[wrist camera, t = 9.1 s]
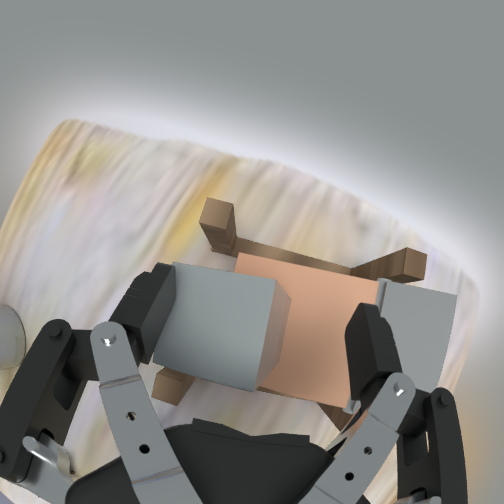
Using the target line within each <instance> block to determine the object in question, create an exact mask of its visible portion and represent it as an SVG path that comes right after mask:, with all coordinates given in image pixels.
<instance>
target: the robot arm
mask: <svg viewBox="0 0 504 504" xmlns="http://www.w3.org/2000/svg"><path fill="white" fill-rule="evenodd" d="M175 298H176V268H175V266H173V265H168V264H164V263H159V262H158V263H157V264H156V265H155V267H154V269H153V270H152V272H151V273H149V272H145V271H144V272H143V273H141V274H140V275H139V276H137V277H136V278H135V279H134V281H133V282H132V284H131V285H130V288H128V290H127V292H126V293H125V295H124V296H123V298H122V299H121V301H120V303H119V304H118V306H117V308H116V309H115V311H114V313H113V314H112V316H111V318H110V319H109V321H108V322H103V323H101V324H99V325H97V326H96V327H95V328H94V329H93V330H73V329H71V326H70V325H69V323H68V322H66V321H65V320H62V319H54V320H51V321H49V322H48V323H46V324H45V325H44V326H43V328H42V329H41V331H40V332H39V334H38V336H37V337H36V339H35V341H34V342H33V344H32V346H31V348H30V349H29V351H28V353H27V355H26V356H25V358H24V360H23V357H24V354H25V335H24V330H23V327H22V323H21V321H20V319H19V317H18V316H17V314H16V313H15V311H14V310H13V309H11V308H10V307H8V306H2V305H0V370H1V369H7V368H12V367H16V366H18V365H19V364H20V363H21V362H22V360H23V362H22V364H21V366H20V367H19V369H18V371H17V373H16V375H15V377H14V379H13V381H12V383H11V385H10V387H9V389H8V391H7V393H6V395H5V397H4V400H3V402H2V404H1V406H0V477H2V478H4V479H6V480H7V481H9V482H11V483H13V484H15V485H18V486H20V487H23V488H25V489H27V490H29V491H31V492H32V493H34V494H36V495H37V496H39V497H41V498H42V499H44V500H46V501H48V502H50V503H51V504H371V503H370V502H369V501H368V500H367V499H366V497H365V496H364V495H363V493H364V492H365V490H366V489H367V487H368V486H369V485H370V483H371V482H372V480H373V479H374V477H375V476H376V474H377V473H378V471H379V470H380V468H381V466H382V465H383V463H384V462H385V460H386V458H387V457H388V455H389V453H390V452H391V450H392V448H393V447H394V445H395V443H396V444H397V471H398V495H397V501H396V502H395V503H394V504H468V501H467V499H468V497H467V480H466V468H465V458H464V451H463V443H462V436H461V430H460V425H459V419H458V414H457V409H456V404H455V401H454V397H453V395H452V394H451V393H450V392H449V391H448V390H447V389H445V388H441V387H439V388H436V389H435V390H434V391H432V392H431V393H428V392H426V391H423V390H420V389H417V388H415V385H414V383H413V381H412V379H411V378H410V377H408V376H407V375H405V374H403V371H402V367H401V363H400V359H399V355H398V351H397V347H396V346H395V344H396V343H395V340H394V338H393V332H392V329H391V326H390V325H389V323H388V322H387V320H386V319H385V318H384V317H381V316H380V313H379V309H378V306H377V305H375V304H369V303H363V302H361V303H359V304H358V306H357V308H356V310H355V312H354V313H353V315H352V317H351V319H350V321H349V322H348V324H347V326H346V329H345V336H344V338H345V346H346V354H347V363H348V372H349V381H350V392H351V400H353V401H360V403H361V406H360V407H359V408H358V409H357V411H356V412H355V413H354V415H353V416H352V417H351V419H350V420H349V421H348V423H347V424H346V425H345V427H344V428H343V429H342V431H341V432H340V433H339V434H338V436H337V437H336V438H335V439H334V440H333V441H332V442H331V443H330V444H329V445H328V446H327V447H326V448H325V449H323V448H321V447H319V446H318V445H315V444H313V443H310V442H309V437H310V435H297V434H285V433H279V434H271V435H261V436H249V435H247V434H244V433H242V432H239V431H237V430H234V429H232V428H230V427H227V426H225V425H223V424H218V423H214V422H209V421H204V420H200V419H196V418H193V422H192V424H184V425H177V426H172V427H169V428H166V429H164V430H163V429H162V427H161V424H160V422H159V420H158V418H157V415H156V413H155V411H154V408H153V406H152V403H151V401H150V398H149V396H148V393H147V391H146V388H145V386H144V383H143V380H142V378H141V376H140V374H139V371H138V367H139V364H140V362H141V363H144V364H149V361H150V359H151V357H152V354H153V352H154V349H155V347H156V345H157V342H158V340H159V338H160V335H161V333H162V331H163V328H164V326H165V324H166V321H167V319H168V317H169V315H170V312H171V310H172V308H173V305H174V302H175ZM88 380H91V381H100V386H99V390H100V394H101V398H102V402H103V405H104V408H105V412H106V415H107V418H108V421H109V424H110V427H111V430H112V433H113V436H114V439H115V442H116V444H117V447H118V450H119V452H120V455H121V456H119V457H118V458H116V459H114V460H113V461H111V462H109V463H107V464H106V465H104V466H102V467H100V468H98V469H97V470H95V471H93V472H91V473H89V474H87V475H85V476H83V477H81V478H80V479H78V480H76V481H75V482H74V481H73V480H72V478H71V476H70V472H69V467H70V458H69V455H68V453H67V451H66V450H65V449H64V448H63V445H64V442H65V439H66V436H67V433H68V430H69V427H70V425H71V422H72V419H73V416H74V414H75V411H76V409H77V406H78V403H79V401H80V398H81V396H82V393H83V391H84V388H85V386H86V384H87V381H88ZM426 432H427V433H428V442H429V452H428V449H427V439H426Z"/></svg>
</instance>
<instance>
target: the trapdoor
mask: <svg viewBox="0 0 504 504" xmlns="http://www.w3.org/2000/svg"><path fill="white" fill-rule="evenodd" d="M233 273H239V274H245V275H251V276H257V277H263V278H270V279H276V280H277V281H278V283H279V284H280V285H281V287H282V288H283V289H284V291H285V292H286V293H287V294H288V296H289V297H290V298H291V304H290V309H289V315H288V320H287V325H286V330H285V335H284V340H283V345H282V350H281V355H280V360H279V363H278V364H277V365H276V367H275V368H274V369H273V370H272V371H271V373H270V374H269V375H268V376H267V377H266V378H265V380H264V381H263V382H262V383H261V384H260V385H259V386H261V387H264V388H268V389H271V390H274V391H278V392H281V393H285V394H288V395H292V396H296V397H299V398H303V399H307V400H311V401H315V402H319V403H324V404H328V405H332V406H337V407H342V408H343V409H342V410H343V411H344V412H346V413H349V414H354V413H355V412H356V411H357V409H358V408H359V407H360V406H361V403H360V401H353V400H351V392H350V381H349V372H348V363H347V354H346V346H345V338H344V336H345V329H346V326H347V324H348V322H349V321H350V319H351V317H352V315H353V313H354V312H355V310H356V308H357V306H358V304H359V303H361V302H363V303H369V304H375V305H377V306H378V309H379V313H380V316H381V317H384V318H385V319H386V320H387V322H388V323H389V325H390V326H391V329H392V332H393V338H394V340H395V343H396V344H395V346H396V347H397V351H398V355H399V359H400V363H401V367H402V371H403V374H405V375H407V376H408V377H410V378H411V379H412V381H413V383H414V385H415V388H417V389H420V390H423V391H426V392H428V393H431V392H432V391H434V390H435V389H436V388H437V385H438V382H439V378H440V375H441V371H442V368H443V364H444V360H445V356H446V352H447V348H448V343H449V339H450V334H451V329H452V324H453V319H454V313H455V307H456V300H457V295H454V294H449V293H444V292H439V291H434V290H430V289H425V288H420V287H415V286H411V285H406V284H401V283H396V282H392V281H391V280H389V279H385V278H378V279H377V281H373V280H368V279H363V278H358V277H354V276H349V275H344V274H339V273H335V272H330V271H325V270H320V269H316V268H311V267H306V266H301V265H297V264H292V263H287V262H282V261H278V260H273V259H268V258H264V257H259V256H254V255H249V254H245V253H240V252H239V255H238V258H237V262H236V265H235V269H234V272H233Z"/></svg>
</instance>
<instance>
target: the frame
mask: <svg viewBox="0 0 504 504" xmlns="http://www.w3.org/2000/svg"><path fill="white" fill-rule="evenodd" d="M199 223H200V225H201V227H202V229H203V231H204V233H205V235H206V237H207V238H208V240H209V242H210V244H211V246H212V247H211V250H212V251H214V252H218V253H222V254H225V255H229V256H233V257H236V258H238V255H239V252H240V253H245V254H249V255H254V256H259V257H264V258H268V259H273V260H278V261H282V262H287V263H292V264H297V265H301V266H306V267H311V268H316V269H320V270H325V271H330V272H335V273H339V274H344V275H349V276H354V277H358V278H363V279H368V280H373V281H377V279H378V278H385V279H389V280H391V281H392V282H396V283H401V284H404V283H410V282H415V281H420V280H424V276H425V268H426V260H427V254H425V253H422V252H419V251H416V250H413V249H410V248H404V249H402V250H399V251H396V252H394V253H391V254H389V255H386V256H384V257H381V258H379V259H376V260H373V261H371V262H368V263H365V264H363V265H360V266H357V267H355V268H352V269H351V268H347V267H344V266H340V265H337V264H333V263H330V262H326V261H322V260H319V259H315V258H312V257H308V256H304V255H301V254H297V253H293V252H290V251H286V250H283V249H279V248H275V247H272V246H268V245H264V244H260V243H257V242H253V241H249V240H246V239H242V238H238V237H237V236H236V226H235V217H234V207H233V204H232V203H228V202H224V201H220V200H216V199H212V198H208V197H207V199H206V202H205V205H204V208H203V211H202V214H201V217H200V220H199ZM195 379H196V377H195V376H192V375H189V374H185V373H182V372H179V371H176V370H173V369H170V368H167V367H164V368H163V369H162V370H160V371H159V372H158V373H157V374H156V378H155V383H154V387H153V392H152V396H151V397H153V398H156V399H158V400H161V401H164V402H167V403H170V404H172V405H175V406H177V405H178V404H179V402H180V401H181V399H182V398H183V396H184V395H185V394H186V392H187V391H188V389H189V388H190V386H191V385H192V383H193V382H194V380H195ZM256 390H259V391H263V392H268V393H272V394H277V395H282V396H287V397H292V398H298V399H303V398H299V397H296V396H292V395H288V394H285V393H281V392H278V391H274V390H271V389H268V388H264V387H261V386H258V388H257V389H256ZM303 400H307V399H303ZM309 401H311V400H309ZM317 403H318V405H319V406H320V407H321V408H322V410H323V411H324V412H325V413H326V415H327V416H328V417H329V418H330V420H331V421H332V422H333V423H334V425H335V426H336V427H337V428H338V430H339V431H340V432H341V431H342V429H343V428H344V427H345V425H346V424H347V423H348V421H349V420H350V419H351V417H352V416H353V415H354V414H349V413H346V412H344V411H343V410H342V409H343V408H342V407H337V406H332V405H328V404H324V403H319V402H317Z"/></svg>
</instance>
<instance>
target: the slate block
mask: <svg viewBox="0 0 504 504" xmlns="http://www.w3.org/2000/svg"><path fill="white" fill-rule="evenodd" d="M172 265H173V266H175V268H176V298H175V302H174V305H173V308H172V310H171V312H170V315H169V317H168V319H167V321H166V324H165V326H164V328H163V331H162V333H161V335H160V338H159V340H158V342H157V345H156V347H155V351H154V357H153V363H156V364H159V365H161V366H164V367H167V368H170V369H173V370H176V371H179V372H182V373H185V374H189V375H192V376H195V377H198V378H202V379H205V380H209V381H212V382H216V383H219V384H223V385H227V386H231V387H234V388H238V389H243V390H247V391H251V392H254V391H255V390H256V389H257V388H258V386H259V385H260V384H261V383H262V382H263V381H264V380H265V378H266V377H267V376H268V375H269V374H270V373H271V371H272V370H273V369H274V368H275V367H276V365H277V364H278V363H279V360H280V355H281V350H282V345H283V340H284V335H285V330H286V325H287V320H288V315H289V309H290V304H291V298H290V297H289V296H288V294H287V293H286V292H285V291H284V289H283V288H282V287H281V285H280V284H279V283H278V281H277V280H276V279H270V278H263V277H257V276H251V275H245V274H239V273H233V272H228V271H222V270H216V269H210V268H205V267H199V266H193V265H188V264H182V263H177V262H173V263H172Z"/></svg>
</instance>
